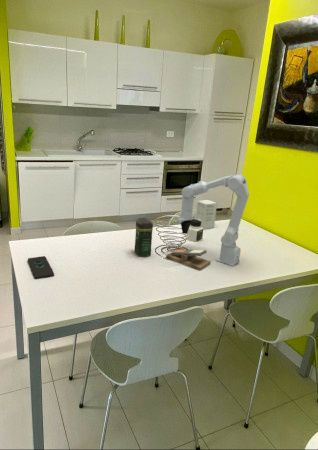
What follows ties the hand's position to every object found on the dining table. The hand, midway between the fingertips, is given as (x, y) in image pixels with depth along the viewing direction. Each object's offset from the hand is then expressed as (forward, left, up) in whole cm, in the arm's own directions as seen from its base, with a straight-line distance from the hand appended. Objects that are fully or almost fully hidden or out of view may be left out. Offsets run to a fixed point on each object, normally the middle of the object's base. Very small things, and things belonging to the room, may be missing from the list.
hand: (184, 233), depth 183 cm
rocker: (-10, +11, -5) cm, 16 cm away
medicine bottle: (+4, -18, -10) cm, 21 cm away
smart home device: (+34, +66, -10) cm, 75 cm away
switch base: (-10, +11, -9) cm, 18 cm away
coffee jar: (+12, +20, -10) cm, 25 cm away
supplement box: (+11, -43, -10) cm, 46 cm away
